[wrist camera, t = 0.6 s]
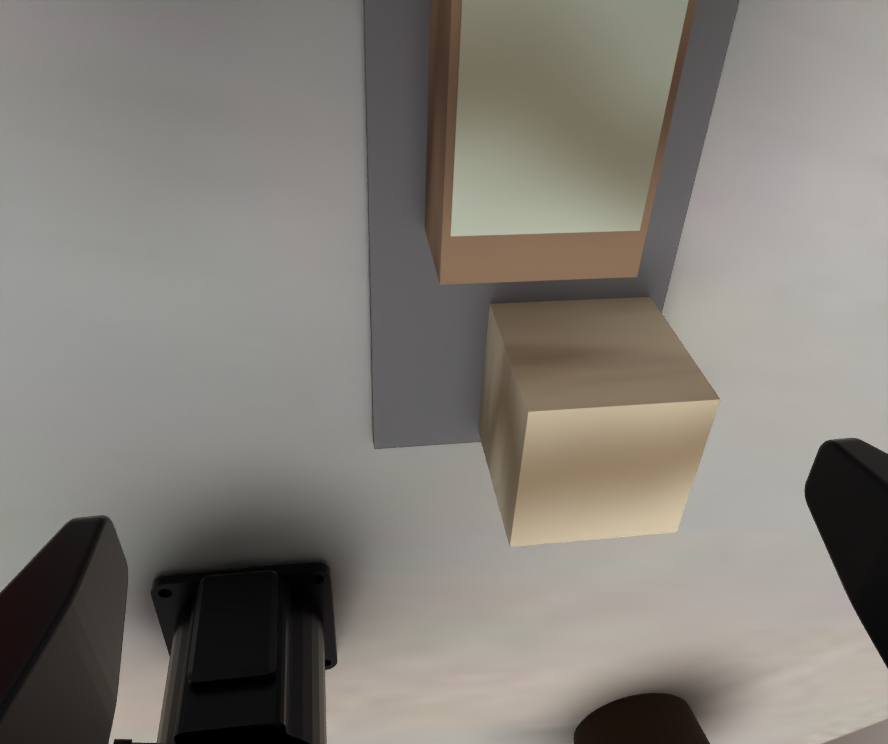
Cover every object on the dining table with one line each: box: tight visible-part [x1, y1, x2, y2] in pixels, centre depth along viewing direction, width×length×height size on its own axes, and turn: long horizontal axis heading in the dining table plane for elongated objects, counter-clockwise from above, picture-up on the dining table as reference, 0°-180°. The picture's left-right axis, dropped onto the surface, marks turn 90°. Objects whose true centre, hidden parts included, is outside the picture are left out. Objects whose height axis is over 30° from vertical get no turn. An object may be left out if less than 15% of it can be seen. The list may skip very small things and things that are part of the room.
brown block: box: [425, 0, 697, 285], centre depth 18 cm, size 8×5×3 cm, turn 178°
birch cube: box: [478, 297, 720, 547], centre depth 23 cm, size 5×5×5 cm
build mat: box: [364, 0, 739, 449], centre depth 21 cm, size 16×9×1 cm, turn 178°
